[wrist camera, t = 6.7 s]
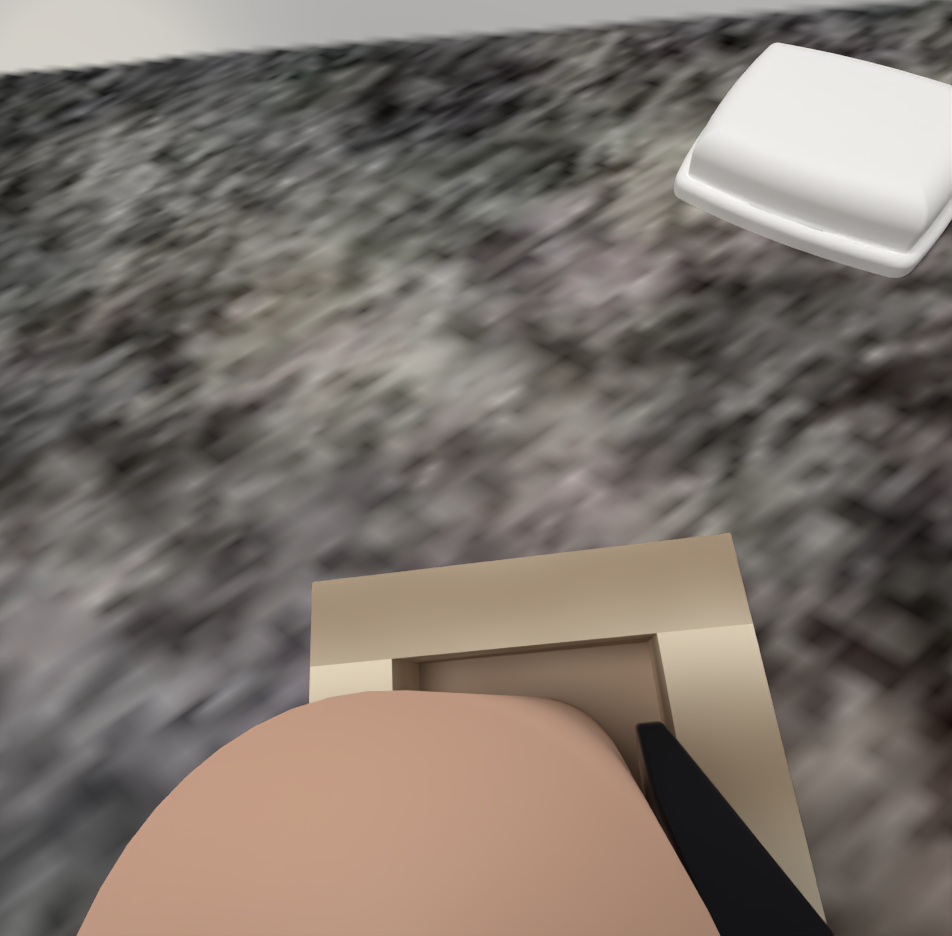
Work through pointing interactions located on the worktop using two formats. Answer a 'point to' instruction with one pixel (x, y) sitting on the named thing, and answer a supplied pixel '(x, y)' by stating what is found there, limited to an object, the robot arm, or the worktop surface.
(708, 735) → the socket block
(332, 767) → the dowel
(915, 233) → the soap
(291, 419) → the worktop surface
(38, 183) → the worktop surface
